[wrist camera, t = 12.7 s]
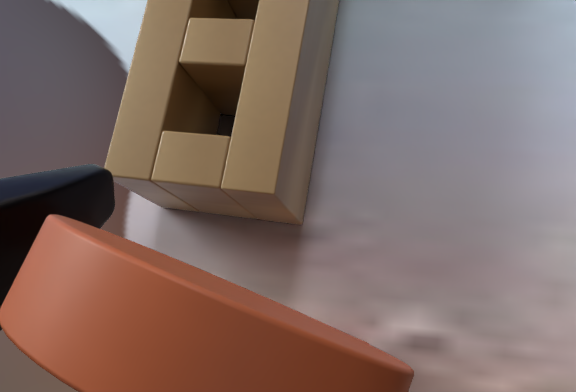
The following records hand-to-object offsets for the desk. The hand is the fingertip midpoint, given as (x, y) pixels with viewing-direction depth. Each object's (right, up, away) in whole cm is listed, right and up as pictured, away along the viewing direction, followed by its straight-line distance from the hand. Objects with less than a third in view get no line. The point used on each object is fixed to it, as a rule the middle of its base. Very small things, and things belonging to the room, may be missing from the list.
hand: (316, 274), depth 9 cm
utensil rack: (-2, +7, +11) cm, 13 cm away
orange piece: (+1, -4, +8) cm, 8 cm away
